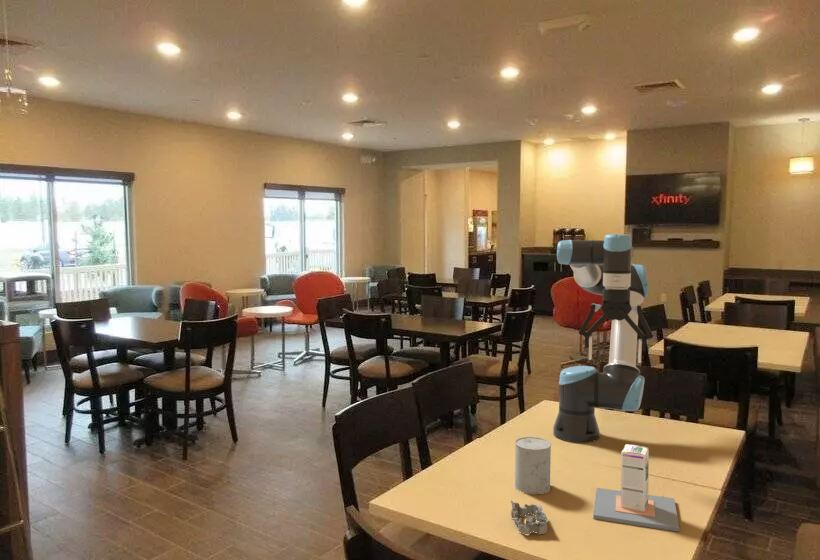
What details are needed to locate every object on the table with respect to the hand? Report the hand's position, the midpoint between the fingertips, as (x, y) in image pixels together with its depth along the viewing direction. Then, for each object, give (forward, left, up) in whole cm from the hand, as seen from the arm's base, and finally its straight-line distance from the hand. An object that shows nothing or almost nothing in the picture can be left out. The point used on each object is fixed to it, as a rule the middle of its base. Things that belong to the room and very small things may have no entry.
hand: (614, 360), depth 172 cm
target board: (+6, -27, -32) cm, 42 cm away
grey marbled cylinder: (-20, -22, -32) cm, 44 cm away
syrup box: (+6, -27, -31) cm, 41 cm away
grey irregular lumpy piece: (-18, -43, -32) cm, 56 cm away
